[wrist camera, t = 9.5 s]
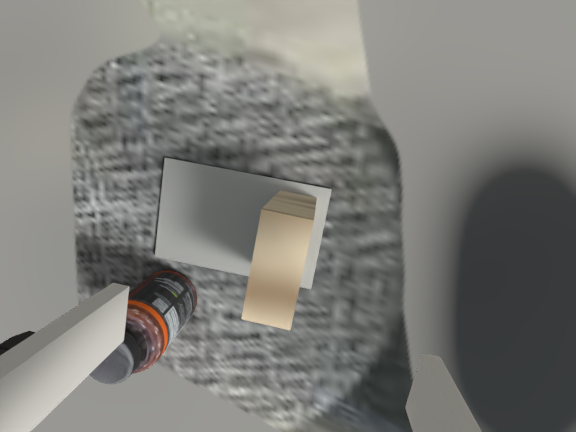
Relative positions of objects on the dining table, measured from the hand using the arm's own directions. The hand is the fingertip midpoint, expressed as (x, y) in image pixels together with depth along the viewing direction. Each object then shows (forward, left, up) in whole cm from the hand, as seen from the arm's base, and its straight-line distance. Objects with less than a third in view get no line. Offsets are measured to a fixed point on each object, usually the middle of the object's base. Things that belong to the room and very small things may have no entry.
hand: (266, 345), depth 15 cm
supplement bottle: (+9, -12, -19) cm, 24 cm away
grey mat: (0, -6, -19) cm, 20 cm away
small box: (0, -1, -18) cm, 18 cm away
